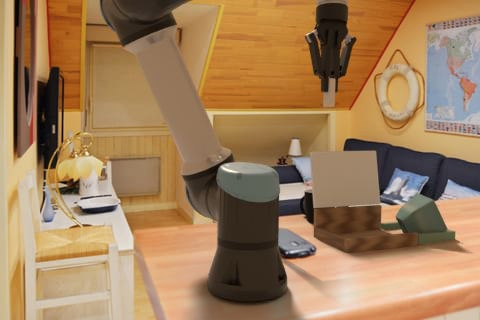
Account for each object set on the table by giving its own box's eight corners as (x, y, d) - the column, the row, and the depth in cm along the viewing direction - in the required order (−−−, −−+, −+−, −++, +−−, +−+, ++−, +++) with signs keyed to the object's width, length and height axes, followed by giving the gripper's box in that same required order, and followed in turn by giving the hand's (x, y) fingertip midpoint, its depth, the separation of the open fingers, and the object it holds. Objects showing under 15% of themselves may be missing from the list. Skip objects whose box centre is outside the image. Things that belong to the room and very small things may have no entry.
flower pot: (417, 247, 115) (449, 230, 115) (402, 217, 114) (434, 199, 114) (402, 237, 124) (431, 221, 124) (388, 209, 122) (418, 193, 123)
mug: (341, 226, 133) (342, 191, 132) (321, 230, 127) (322, 194, 126) (310, 219, 142) (310, 187, 141) (289, 223, 136) (290, 189, 135)
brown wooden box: (346, 252, 104) (347, 219, 104) (313, 237, 118) (314, 208, 118) (417, 245, 111) (418, 214, 111) (378, 232, 125) (379, 204, 125)
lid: (311, 151, 119) (309, 151, 119) (315, 208, 117) (313, 208, 118) (376, 150, 126) (374, 151, 126) (380, 204, 124) (378, 204, 125)
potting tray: (418, 244, 112) (418, 234, 112) (380, 232, 125) (380, 223, 125) (455, 241, 116) (455, 231, 116) (414, 229, 129) (415, 220, 129)
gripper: (315, -2, 102) (312, 104, 104) (365, 4, 107) (361, 106, 108) (299, 6, 110) (297, 106, 111) (346, 12, 114) (343, 108, 115)
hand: (328, 106), depth 110 cm, fingers closed
